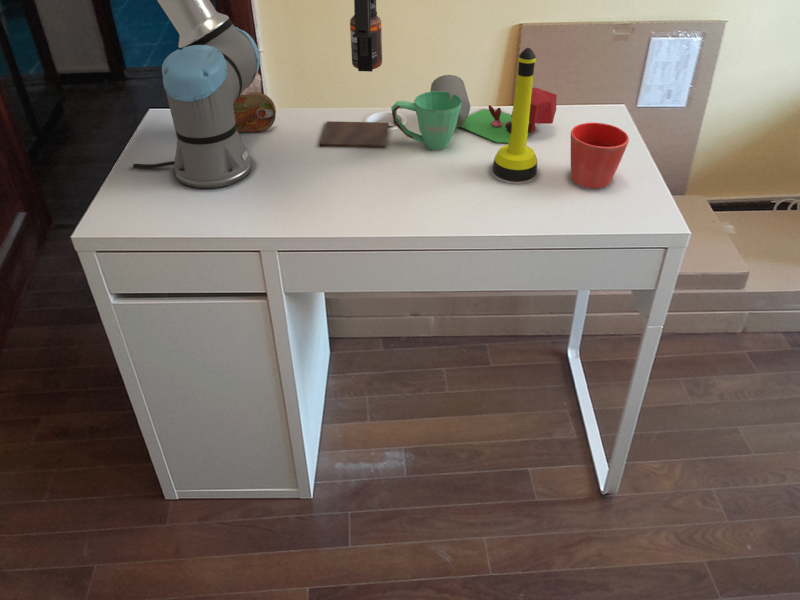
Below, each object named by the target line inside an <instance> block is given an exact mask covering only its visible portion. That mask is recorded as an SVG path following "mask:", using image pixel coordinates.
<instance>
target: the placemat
mask: <svg viewBox="0 0 800 600" xmlns="http://www.w3.org/2000/svg"><path fill="white" fill-rule="evenodd" d="M388 132H389V122H382V121H381V122H380V121H379V122H377V121H376V122H373V121H330V120H329V121H326V124H325V127H324V130H323V133H322V137H321V139H320V143H319V146H320V147H338V148H339V147H345V148H346V147H347V148H386V143H387V137H388Z"/></svg>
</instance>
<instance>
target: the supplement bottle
mask: <svg viewBox="0 0 800 600" xmlns="http://www.w3.org/2000/svg"><path fill="white" fill-rule="evenodd" d="M353 11H354V12H353V13H354V14H353V16H352V17H351V18H350V19H349V31H350V32H349V33H350V48H351V49H350V50H351V51H350V52H351V64H352V66H353V67H354V68H355V69H358V53H357V38H353V34H355V10H353ZM376 11H377V5H376V6H375V4H373V3H371V28H370V33H371V36H372V65H373V70H376V69H378V68H380V67H381V66H382V64H383V41H382V39H383V38H382V20H381V18H380V16H378V14H377V15H376Z"/></svg>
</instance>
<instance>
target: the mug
mask: <svg viewBox="0 0 800 600" xmlns="http://www.w3.org/2000/svg"><path fill="white" fill-rule="evenodd" d="M461 105H462V101H461V98H459V97H458V96H457V95H455V94H453V96H452V99H451V100H450V95H449V93H448V92H442V91H433V92H430V91H426V92H423V93H421V94H420V93H419V94H418V95H417V96H416V97H415V98H414V100H413V102H411V101H407V100H397V101H396V102H395V103H394V104H393V105H392V106H391V107H390V108H391V109H390V110H391V116H392V121H393V122H392V123H393V124H394V125H395V126H396V127H397V128H398V129H399V130H400V131H401V132H402V133H403V134H404V135H405V136H406V137H407V138H409V139H412V140H414V141H416V142H419V143H421V144H424V146H425V147H426V148H427V149H429V150H432V151H442V150H445V149H446V148H448V146H449V144H450V142H451V139H452V138H453V136H454V132H455V130H456V129H455V127H456V124H457V120H458V116H459V112H460V109H461ZM398 109H399V110H401V109H404V110H407V111H411V112H415V114H416V119H417V124H418V128H419V132H420V134H419V133H417V132H414V131H412V130H410V129H408V128H407V127H406V126H405V124H404V123H403V122H402V121H401V120H400V118H398V115H397V114H398Z"/></svg>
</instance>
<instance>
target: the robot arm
mask: <svg viewBox="0 0 800 600" xmlns="http://www.w3.org/2000/svg"><path fill="white" fill-rule="evenodd" d="M156 1H157V3H158V4H159V5H160V7H161V8H162V10H163V11H164V13H165V14H166V16H167V18H168V19H169V21H170V22H171V24H172V25H173V27H174V28H175V30H176V31H177V33H178V35H179V37H178V48H179V49H176V50H174V51H173V52H170V53H169V54H168V55H167V56H166V58H165V59H164V60H163V62H162V65H161V74H162V84H163V89H164V90H165V94H166V98H167V102H168V107H169V110H170V116H171V119H172V121H173V122H172V123H173V127H174V131H175V136H176V148H175V156H174V160H172V161H165V162H159V163H149V164H148V163H133V164H132V167H133V168H138V169H139V168H140V169H157V168H163V167H169V166H174V172H175V176H176V179H177V180H178V181H179V182H180V183H181V184H183V185H185V186H188V187H191V188H196V189H217V188H223V187H227V186H230V185H234V184H236V183H238V182H240V181H242V180H243V179H245V178H246V177H247V176H248V175H249V174H250V173H251V172H252V170H253V161H252V157H251V154H250V152H249V150H248V149H247V147H246V145H245V142H244V140H243V139H242V137H241V135H240V132H238V131H237V127H236V121H235V115H234V109H233V103H234V102H235V101H236V100H237V99H238V97H239V96H240V95H241V94H242V93H244V92H245V90H246V89H248V88H249V87H250V86H251V84H253V82H254V80H255V78H256V76H257V74H258V73H259V70H260V65H261V57H260V56H261V55H260V52H259V48H258V45H257V44H256V42H255V40H254V39H253V37H252V36H251V35H250V34H249V33H248V32H246V31H245V30H243V29H240V28H239V27H237V26H235V25H234V23H233V21H232V20H231V19H230V17H229V16H228V15H227V14H223V13H221V12H218V11H217V10H216V9H215V7H214V5H213V4H212V2H211V0H156ZM353 1H354V2H353V5H354V6H353V9H354V10H355V13H354V14H355V34H353V38H357V53H358V68H357V71H358V72H371V73H372V72H373V70H374V69H373V65H372V36H371V33H370V28H371V3H373V4H375V6H376V7H377V0H353ZM354 10H353V11H354ZM376 15H377V16H378V11H377V10H376Z"/></svg>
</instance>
